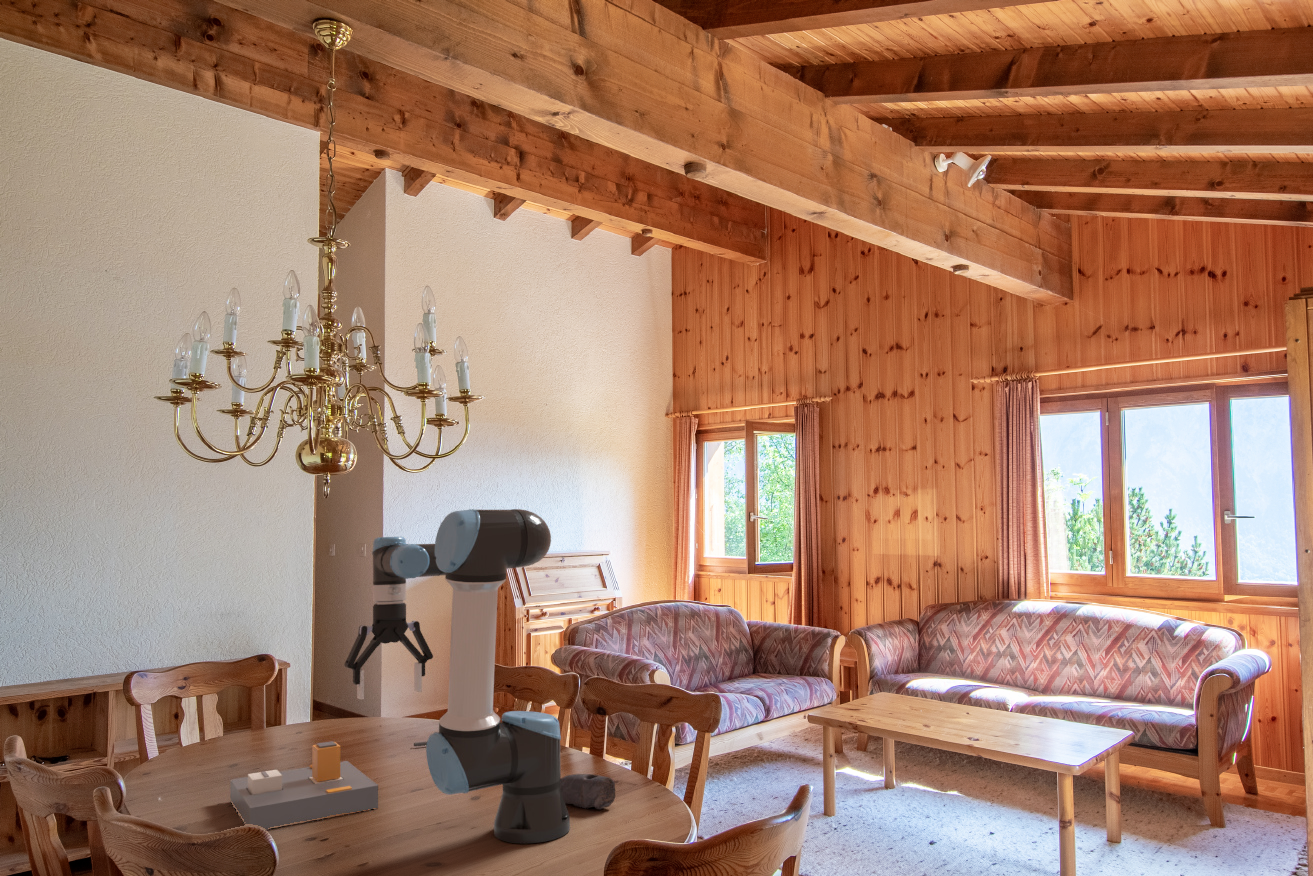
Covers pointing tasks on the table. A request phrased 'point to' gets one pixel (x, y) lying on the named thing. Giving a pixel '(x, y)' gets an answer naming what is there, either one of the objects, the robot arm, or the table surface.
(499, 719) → the robot arm
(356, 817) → the table surface
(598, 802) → the perforated stone tool
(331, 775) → the cap
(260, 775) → the breaker untagged
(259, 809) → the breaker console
